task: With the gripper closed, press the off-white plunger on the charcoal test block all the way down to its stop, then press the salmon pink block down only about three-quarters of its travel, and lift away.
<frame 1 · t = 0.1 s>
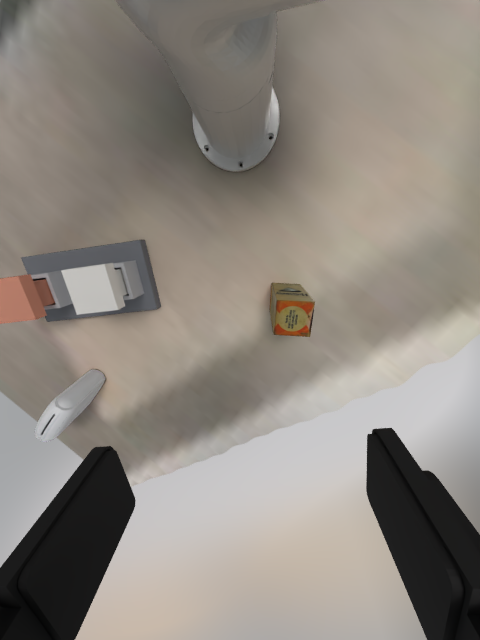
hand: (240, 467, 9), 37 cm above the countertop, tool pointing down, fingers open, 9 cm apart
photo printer: (91, 385, 54), on the countertop
salmon pink block: (25, 296, 38), point 8 cm above the countertop, slide at 0.0 cm
test block: (97, 281, 46), on the countertop
shoe polish box: (284, 297, 44), on the countertop
white plunger: (102, 286, 37), point 8 cm above the countertop, slide at 0.0 cm
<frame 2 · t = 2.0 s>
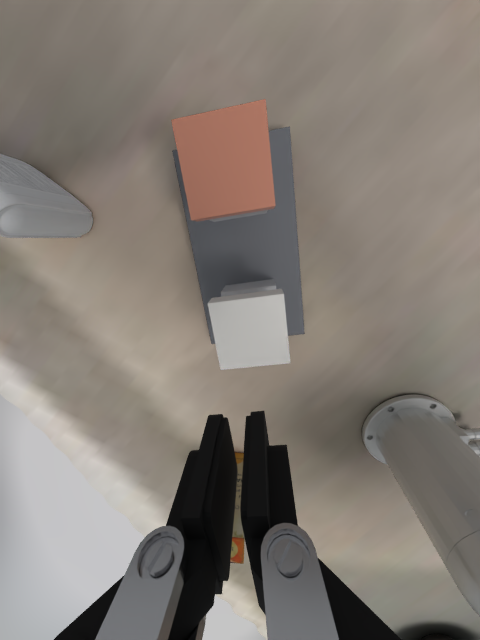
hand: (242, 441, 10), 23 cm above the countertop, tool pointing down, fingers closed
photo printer: (56, 201, 30), on the countertop
salmon pink block: (229, 174, 20), point 8 cm above the countertop, slide at 0.0 cm
test block: (245, 250, 30), on the countertop
shoe polish box: (233, 462, 42), on the countertop
white plunger: (251, 322, 24), point 8 cm above the countertop, slide at 0.0 cm
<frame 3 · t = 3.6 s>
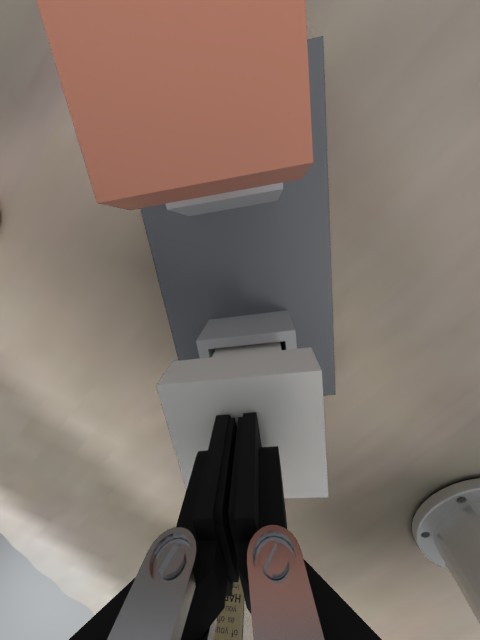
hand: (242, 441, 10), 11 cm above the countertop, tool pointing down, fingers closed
salmon pink block: (201, 103, 9), point 8 cm above the countertop, slide at 0.0 cm
test block: (242, 262, 19), on the countertop
shoe polish box: (226, 551, 30), on the countertop
white plunger: (249, 399, 13), point 8 cm above the countertop, slide at 0.3 cm, touching gripper
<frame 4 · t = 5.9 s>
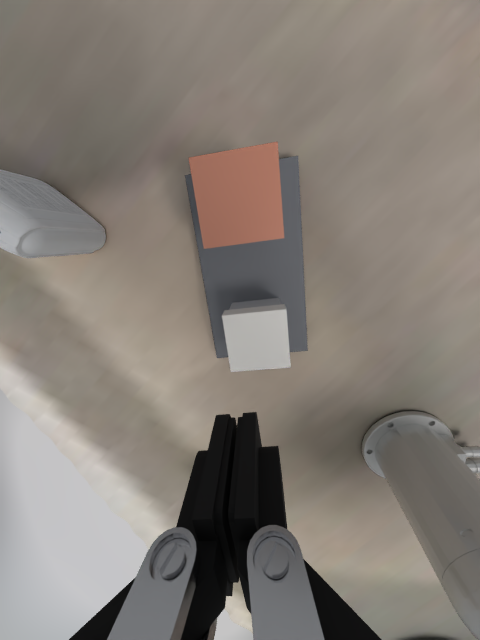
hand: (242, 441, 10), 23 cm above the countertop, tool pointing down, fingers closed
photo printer: (71, 218, 31), on the countertop
salmon pink block: (241, 204, 21), point 8 cm above the countertop, slide at 0.0 cm
test block: (252, 268, 31), on the countertop
white plunger: (257, 331, 28), point 5 cm above the countertop, slide at 3.0 cm
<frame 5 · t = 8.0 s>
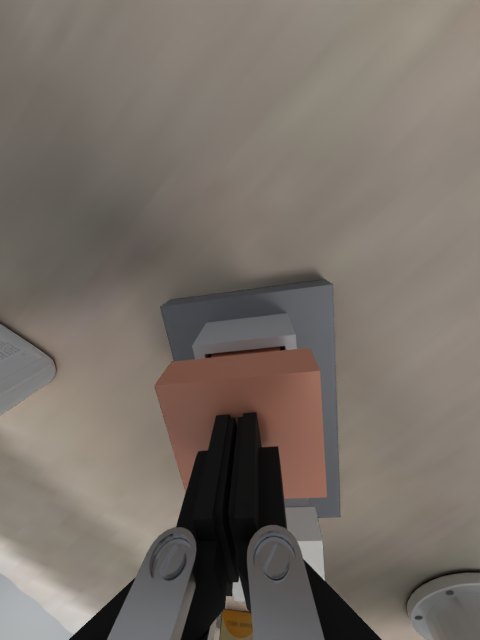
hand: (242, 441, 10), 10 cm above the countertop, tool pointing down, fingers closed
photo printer: (7, 343, 22), on the countertop
salmon pink block: (248, 400, 13), point 7 cm above the countertop, slide at 0.9 cm, touching gripper
test block: (261, 409, 22), on the countertop
shoe polish box: (240, 619, 33), on the countertop
white plunger: (272, 523, 19), point 5 cm above the countertop, slide at 3.0 cm
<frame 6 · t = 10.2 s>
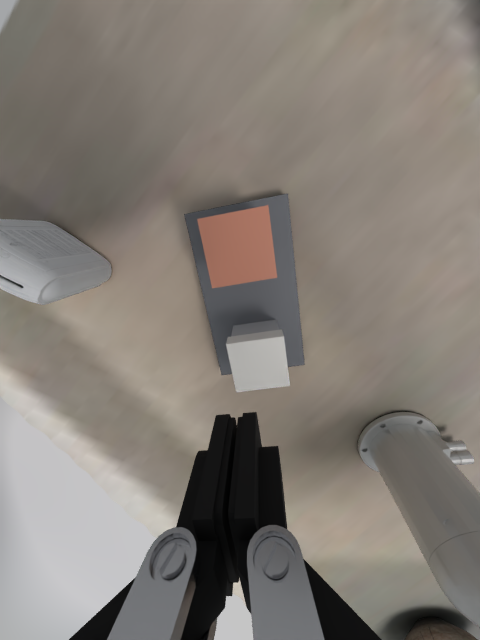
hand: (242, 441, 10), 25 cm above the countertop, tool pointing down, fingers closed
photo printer: (77, 253, 33), on the countertop
cooking pot: (428, 622, 60), on the countertop
salmon pink block: (240, 247, 25), point 6 cm above the countertop, slide at 2.1 cm
test block: (250, 292, 33), on the countertop
white plunger: (258, 353, 31), point 5 cm above the countertop, slide at 3.0 cm
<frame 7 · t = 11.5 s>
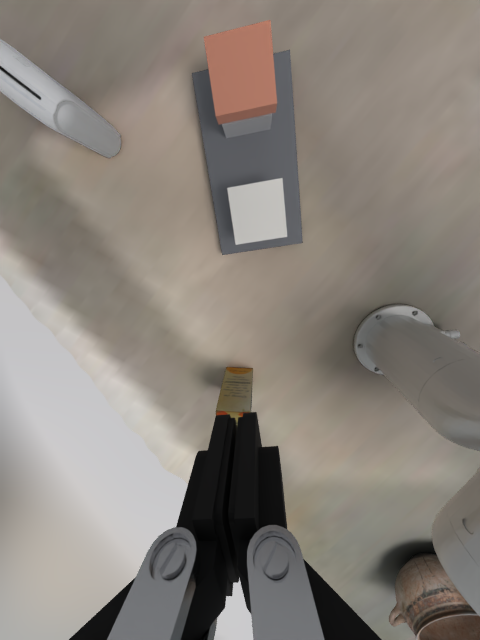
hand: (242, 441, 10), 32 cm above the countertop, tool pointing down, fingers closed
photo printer: (90, 126, 35), on the countertop
cooking pot: (423, 560, 60), on the countertop
salmon pink block: (243, 88, 27), point 6 cm above the countertop, slide at 2.1 cm
test block: (252, 168, 35), on the countertop
shoe polish box: (239, 378, 47), on the countertop
white plunger: (257, 214, 32), point 5 cm above the countertop, slide at 3.0 cm
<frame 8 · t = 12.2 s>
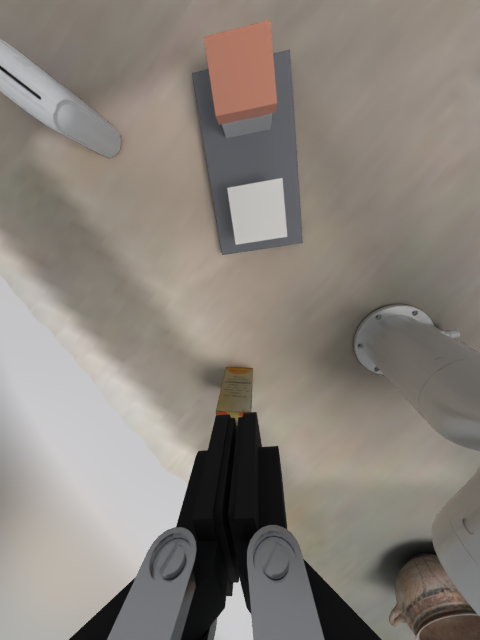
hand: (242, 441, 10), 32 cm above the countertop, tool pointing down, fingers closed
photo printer: (90, 126, 35), on the countertop
cooking pot: (423, 560, 60), on the countertop
salmon pink block: (243, 88, 27), point 6 cm above the countertop, slide at 2.1 cm
test block: (252, 168, 35), on the countertop
shoe polish box: (239, 378, 47), on the countertop
white plunger: (257, 214, 32), point 5 cm above the countertop, slide at 3.0 cm
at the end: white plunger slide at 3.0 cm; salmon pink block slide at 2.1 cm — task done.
